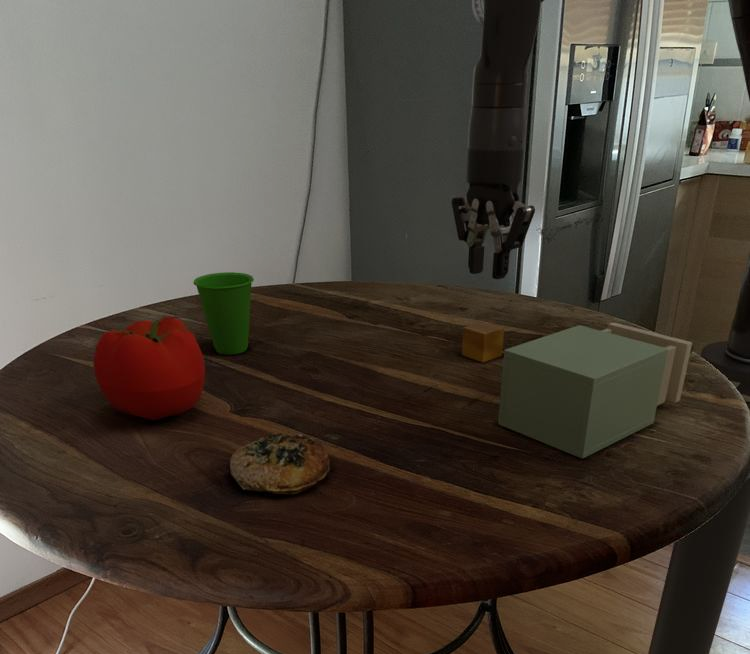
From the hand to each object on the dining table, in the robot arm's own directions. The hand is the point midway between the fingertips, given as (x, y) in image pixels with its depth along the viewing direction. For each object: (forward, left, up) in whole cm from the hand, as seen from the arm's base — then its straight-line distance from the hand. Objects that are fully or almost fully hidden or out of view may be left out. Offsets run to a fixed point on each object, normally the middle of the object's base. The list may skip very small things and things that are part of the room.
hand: (487, 274), depth 107 cm
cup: (+14, -37, -12) cm, 41 cm away
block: (0, 0, -12) cm, 12 cm away
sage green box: (+19, +19, -12) cm, 30 cm away
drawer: (+9, +23, -11) cm, 27 cm away
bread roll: (+46, -7, -12) cm, 48 cm away
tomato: (+38, -31, -12) cm, 51 cm away
